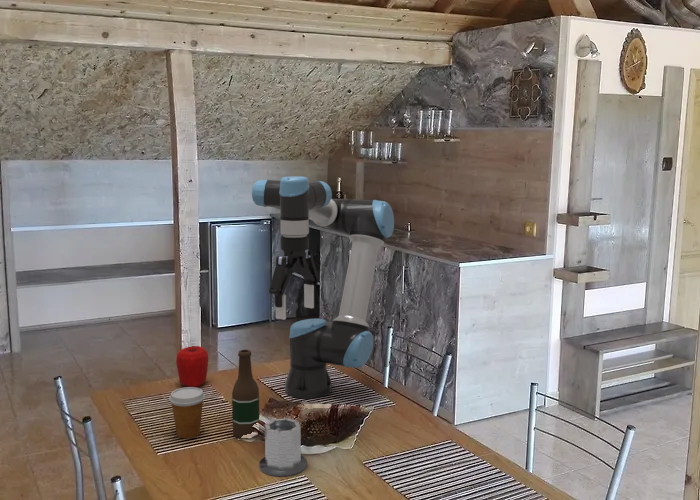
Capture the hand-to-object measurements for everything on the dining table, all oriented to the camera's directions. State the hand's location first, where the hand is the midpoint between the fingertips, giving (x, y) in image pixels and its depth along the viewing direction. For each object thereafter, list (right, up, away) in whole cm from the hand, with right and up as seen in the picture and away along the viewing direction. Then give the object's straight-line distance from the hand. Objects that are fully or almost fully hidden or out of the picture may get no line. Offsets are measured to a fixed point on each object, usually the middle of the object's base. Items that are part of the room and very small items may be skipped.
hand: (295, 313), depth 190 cm
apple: (-37, -28, +43) cm, 63 cm away
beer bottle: (-14, -34, +6) cm, 38 cm away
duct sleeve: (-2, -37, -12) cm, 39 cm away
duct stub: (-2, -37, -12) cm, 39 cm away
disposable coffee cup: (-30, -34, +6) cm, 46 cm away
